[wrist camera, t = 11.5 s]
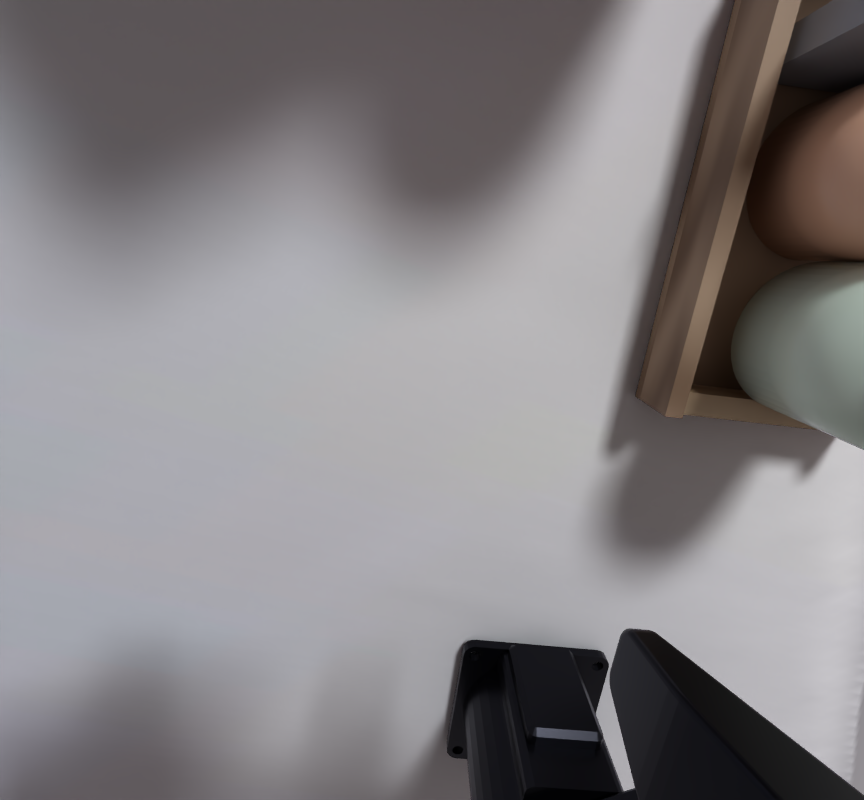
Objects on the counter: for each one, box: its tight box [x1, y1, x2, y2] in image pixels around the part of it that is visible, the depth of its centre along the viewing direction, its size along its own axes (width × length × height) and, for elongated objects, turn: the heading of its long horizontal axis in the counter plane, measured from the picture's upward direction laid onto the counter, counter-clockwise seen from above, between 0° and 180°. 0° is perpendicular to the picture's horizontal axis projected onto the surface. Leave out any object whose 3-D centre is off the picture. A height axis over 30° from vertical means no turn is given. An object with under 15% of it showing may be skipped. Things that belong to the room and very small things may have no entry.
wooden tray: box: [635, 0, 836, 430], centre depth 16 cm, size 14×9×2 cm, turn 173°
